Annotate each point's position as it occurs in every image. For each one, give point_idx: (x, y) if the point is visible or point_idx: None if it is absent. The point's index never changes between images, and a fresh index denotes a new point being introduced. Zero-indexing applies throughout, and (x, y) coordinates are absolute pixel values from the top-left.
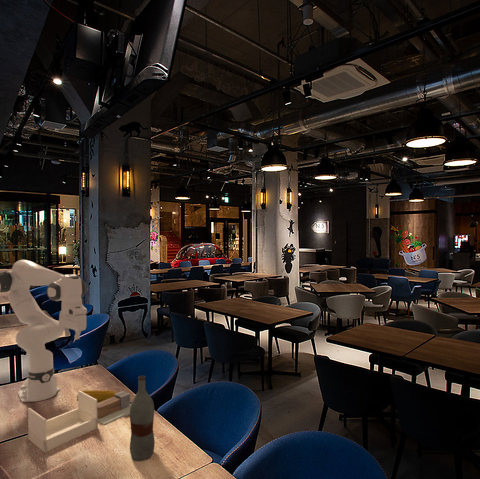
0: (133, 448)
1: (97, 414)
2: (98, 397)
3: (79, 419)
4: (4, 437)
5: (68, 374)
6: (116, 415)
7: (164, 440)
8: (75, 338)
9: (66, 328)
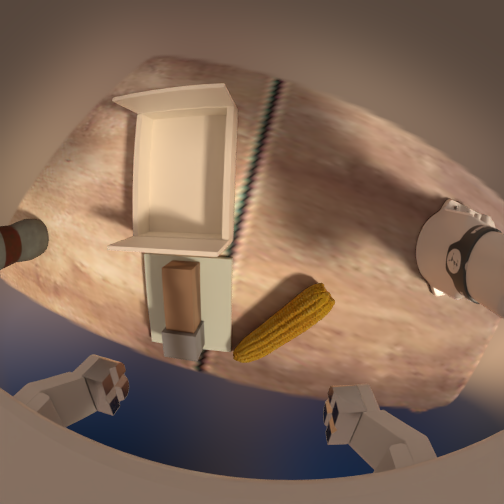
0: (22, 220)
1: (176, 262)
2: (269, 322)
3: (218, 231)
4: (298, 84)
5: (475, 345)
6: (156, 293)
7: (46, 282)
8: (93, 359)
9: (380, 462)
